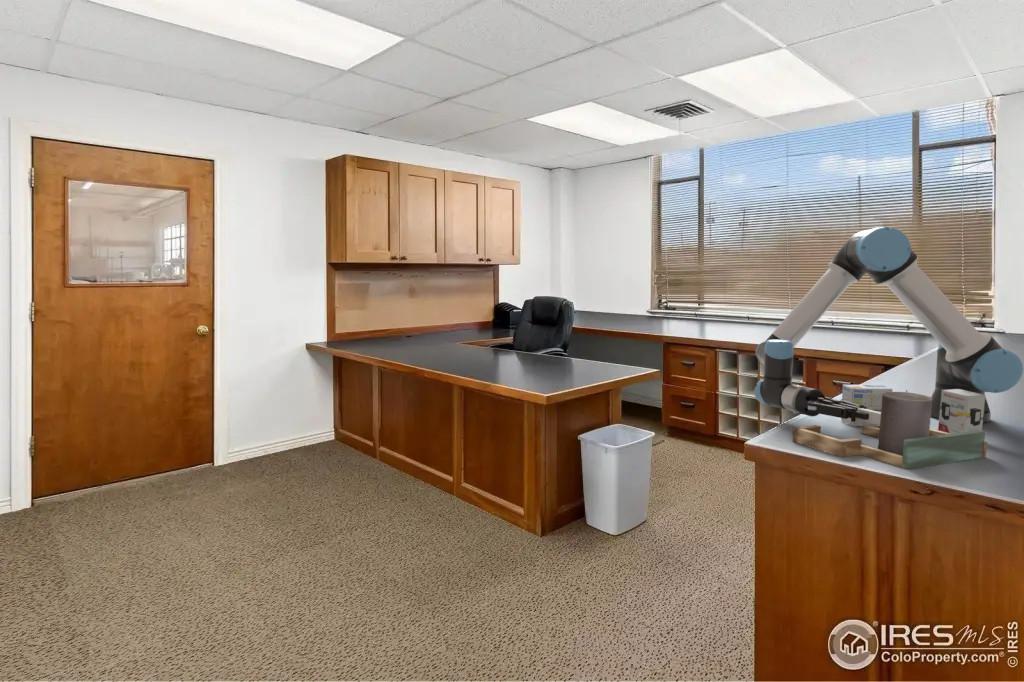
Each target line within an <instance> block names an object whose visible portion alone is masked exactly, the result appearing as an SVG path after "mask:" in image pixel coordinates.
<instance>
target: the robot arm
mask: <svg viewBox="0 0 1024 682" xmlns="http://www.w3.org/2000/svg"><path fill="white" fill-rule="evenodd" d="M918 259H919V256H918V255H917V254H916V253H915V252H914V251H913V250H912V245H911V241H910V239H909V237H908V236H907V234H905V233H904V232H903V231H902V230H900V229H897V228H895V227H890V226H876V227H873V228H869V229H866V230H862V231H861V230H860V231H858V232H857V233H854V234H853V235H852V236H850V237H849V238H848V239H847V240H846V242H845V243H844V244H843V245H842V246H841V247H840V249H839V250H838V252H837V253H836V254H835V255H834V257H833V258H832V259H831V260H830V261H829V262H828V263H827V265H828V269H827V270H826V271H825V272H824V274H822V276H821V277H820V278H819V279H818V280H817V281H816V282H815V284H814V285H812V287H811V288H810V290H809V291H808V292H807V293H806V294H805V295H804V297H802V298H801V300H800V301H799V302H798V304H797V305H796V306H795V307H793V309H792V310H791V311H790V312H789V313H788V315H787V316H786V317H785V318H784V319H783V320H782V321H781V323H779V324H778V326H777V327H776V328H775V330H774V331H773V332H772V333H771V334H770V335H769V336H768V338H767V339H766V340H765V341H762V342H760V343H759V344H758V345H757V347H756V349H755V356H756V358H757V360H758V362H759V363H760V364H761V365H763V368H764V369H763V378H762V379H761V378H760V379H759V380H758V381H757V382H756V386H755V387H754V391H753V392H754V397H755V399H756V401H758V402H760V403H761V404H764V405H767V406H769V407H775V408H777V409H779V408H780V409H782V410H786V411H790V412H792V414H794V415H797V413H798V414H800V415H805V416H809V417H817V416H819V415H824V416H830V417H833V418H834V417H835V418H840V419H841V418H844V419H848V418H851V421H852V422H855V421H856V418H857V419H858V420H862V421H866V422H870V423H874V424H878V425H880V419H881V412H877V411H873V410H868V409H867V407H865V406H864V405H858V404H855V403H852V402H848V401H846V400H844V399H842V398H841V399H840V400H838V399H834V398H832V397H829V396H828V397H827V396H825V394H824V392H823V391H822V390H820V389H817V388H812V387H808V386H803V385H799V384H794V383H792V380H793V365H794V355H795V352H794V348H795V347H796V346H797V345H798V343H799V342H801V340H802V339H803V338H804V337H805V336H806V334H808V332H809V331H810V330H811V329H812V328H813V327H814V325H816V323H817V322H818V321H819V320H820V319H821V318H822V317H823V316H824V314H825V313H826V312H828V310H829V309H830V308H831V307H832V305H834V304H835V302H836V301H837V300H838V299H839V298H840V297H841V296H842V294H844V292H845V291H846V290H847V289H848V288H849V287H850V285H852V284H857V283H859V282H860V280H861V279H862V278H863V277H865V276H866V274H867V275H868V277H870V278H871V279H872V280H873V282H874V283H875V284H876V285H878V286H879V285H880V286H887V288H888V289H889V290H890V291H891V292H892V293H893V294H894V296H895V297H897V299H898V300H899V301H900V302H901V304H903V305H904V306H905V307H906V308H907V309H908V310H909V312H911V314H912V315H913V316H914V317H915V319H916V320H918V321H919V322H920V324H921V325H922V326H923V327H924V328H925V329H926V330H927V331H928V332H929V333H930V335H931V336H932V337H933V338H934V339H935V340H936V341H937V342H938V347H937V350H936V353H937V357H936V369H935V371H936V372H935V386H934V390H933V392H932V395H931V396H930V397H931V398H932V407H931V417H930V418H936V419H939V415H940V404H941V393H942V390H951V389H961V390H965V391H970V392H974V393H978V394H982V395H984V396H985V404H984V414H983V424H984V423H989V422H991V414H992V413H991V410H990V406H989V404H988V399H987V396H986V393H992V394H999V393H1004V392H1007V391H1009V390H1011V389H1013V388H1015V386H1016V385H1017V384H1019V382H1020V381H1021V379H1022V377H1023V372H1024V363H1023V362H1022V359H1021V358H1020V357H1019V355H1017V354H1015V353H1014V352H1013V351H1011V350H1009V349H1005V348H1003V347H1002V346H1001V345H1000V344H999V343H998V341H997V340H996V339H995V338H994V337H993V336H992V335H991V334H990V333H988V332H980V331H978V330H977V329H976V328H975V326H974V325H973V324H972V323H971V322H970V321H969V320H968V319H967V317H965V316H964V315H963V313H961V311H960V310H959V309H958V308H957V307H956V306H955V305H954V304H953V303H952V301H951V300H950V299H949V298H948V297H947V296H946V295H945V294H944V293H943V292H942V291H941V290H940V288H939V287H938V286H937V285H936V284H935V283H934V282H933V281H932V280H931V279H930V278H929V277H928V275H926V273H925V272H924V271H923V270H922V269H921V268H920V267H919V265H918Z"/></svg>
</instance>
